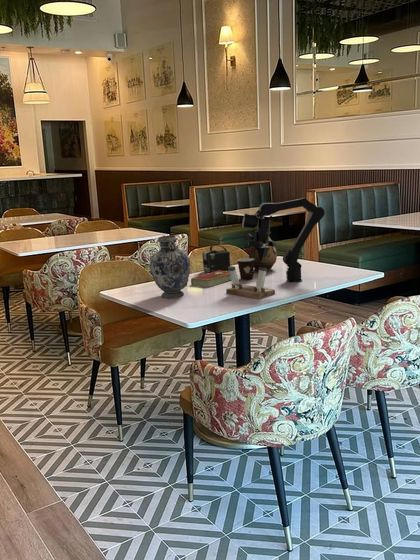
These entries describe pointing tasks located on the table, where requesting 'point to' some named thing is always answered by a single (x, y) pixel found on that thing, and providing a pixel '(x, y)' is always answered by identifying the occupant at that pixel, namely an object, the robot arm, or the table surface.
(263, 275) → the lever
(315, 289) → the table surface
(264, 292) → the switch box
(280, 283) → the table surface
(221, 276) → the hardcover book
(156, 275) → the decorative vase
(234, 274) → the lever
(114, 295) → the table surface
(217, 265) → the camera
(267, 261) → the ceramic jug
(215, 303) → the table surface
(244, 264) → the coffee mug
